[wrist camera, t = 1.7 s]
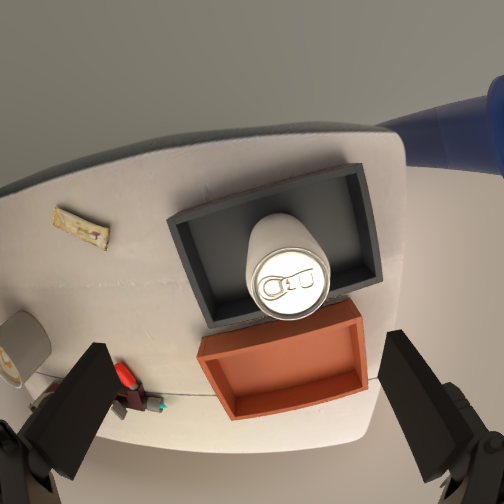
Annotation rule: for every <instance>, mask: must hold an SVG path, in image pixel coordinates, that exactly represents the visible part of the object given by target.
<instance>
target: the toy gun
mask: <svg viewBox="0 0 504 504" xmlns="http://www.w3.org/2000/svg"><path fill="white" fill-rule="evenodd" d="M114 367H115V369H116V371H117V374H118V376H119V378H120V380H121V381H122V382H123V384H124V385H125V386H124V385H122V387H121V388H120V390H119V392H118V394H117V396H116V397H115V399H114V401H113V403H112V404H113V407H112V409H111V410H112V411H113V412H114V413H115V414H116V415H117V416H118V417H119V418H120V419H121V420H124V418H125V416H126V413H127V410H126V408H130V409H134V410H139V411H145V409H148V411H153V412H159V413H162V411H163V408H165V407H167V406H165V405H164V402H163V399H161V398H155V397H149V398H148V397H146V395H145V392H144V388H143V385H142V383H136V382H135V381H136V379H135V378H134V377H133V375H132V374H131V373H130V372H129V370H128V369H127V368H126V366H125V365H124V364H122V363H117V364H115V365H114Z"/></svg>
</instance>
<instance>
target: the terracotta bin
mask: <svg viewBox="0 0 504 504" xmlns="http://www.w3.org/2000/svg"><path fill="white" fill-rule="evenodd" d="M196 358H197V360H198V362H199V364H200V365H201V367H202V369H203V371H204V373H205V375H206V377H207V379H208V381H209V382H210V384H211V386H212V388H213V390H214V391H215V393H216V395H217V397H218V399H219V400H220V402H221V404H222V406H223V407H224V409H225V411H226V412H227V414H228V416H229V418H230V419H231V421H233V420H241V419H248V418H254V417H260V416H266V415H271V414H277V413H282V412H287V411H291V410H296V409H300V408H304V407H309V406H313V405H317V404H320V403H324V402H328V401H331V400H335V399H338V398H342V397H345V396H348V395H351V394H355V393H358V392H361V391H364V390H367V389H368V376H367V362H366V350H365V340H364V330H363V321H362V316H361V314H360V312H359V311H358V309H357V308H356V306H355V305H354V303H353V301H352V300H351V299H350V300H347V301H344V302H340V303H337V304H334V305H330V306H327V307H324V308H320V309H317V310H316V311H315V312H313V313H312V314H310V315H308V316H306V317H304V318H301V319H297V320H276V321H272V322H269V323H265V324H261V325H256V326H252V327H248V328H244V329H240V330H235V331H231V332H226V333H222V334H217V335H212V336H208V337H203V338H202V340H201V344H200V347H199V350H198V353H197V357H196Z"/></svg>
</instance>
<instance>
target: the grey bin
mask: <svg viewBox="0 0 504 504" xmlns="http://www.w3.org/2000/svg"><path fill="white" fill-rule="evenodd" d="M275 213H284V214H289V215H291V216H293V217H295V218H297V219H298V220H299V221H300V222H301V223H302V224H303V225H304V226H305V227H306V229H307V230H308V231H309V232H310V234H311V235H312V236H313V238H314V239H315V240H316V242H317V243H318V244H319V246H320V247H321V249H322V250H323V252H324V253H325V255H326V257H327V259H328V262H329V266H330V288H329V292H328V295H327V297H326V299H329V298H332V297H335V296H339V295H342V294H345V293H348V292H352V291H355V290H358V289H361V288H364V287H367V286H370V285H373V284H376V283H379V282H382V281H383V275H382V267H381V259H380V252H379V245H378V239H377V233H376V227H375V221H374V216H373V210H372V205H371V200H370V196H369V191H368V186H367V182H366V178H365V173H364V169H363V165H362V163H348V164H344V165H340V166H335V167H331V168H327V169H323V170H319V171H315V172H311V173H307V174H304V175H300V176H296V177H292V178H289V179H285V180H281V181H278V182H274V183H271V184H267V185H264V186H260V187H257V188H253V189H250V190H247V191H243V192H240V193H237V194H234V195H230V196H227V197H224V198H221V199H218V200H214V201H211V202H208V203H205V204H202V205H199V206H196V207H193V208H190V209H187V210H184V211H181V212H178V213H177V214H175V215H173V216H171V217H170V218H168V219H167V220H166V221H167V224H168V226H169V229H170V232H171V235H172V237H173V240H174V243H175V246H176V248H177V251H178V254H179V256H180V259H181V262H182V264H183V267H184V269H185V272H186V275H187V277H188V280H189V282H190V285H191V287H192V290H193V292H194V295H195V297H196V299H197V302H198V304H199V307H200V309H201V311H202V314H203V316H204V318H205V321H206V323H207V325H208V328H209V329H212V328H217V327H221V326H226V325H230V324H234V323H238V322H243V321H247V320H251V319H255V318H259V317H263V316H267V314H266V313H264V312H263V311H262V310H261V309H260V308H259V307H258V306H257V304H256V303H255V301H254V299H253V298H252V296H251V295H250V293H249V290H248V287H247V283H246V265H247V256H248V247H249V240H250V235H251V232H252V230H253V228H254V227H255V225H256V224H257V223H258V222H259V221H260V220H261V219H262V218H264V217H266V216H268V215H271V214H275Z"/></svg>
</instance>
